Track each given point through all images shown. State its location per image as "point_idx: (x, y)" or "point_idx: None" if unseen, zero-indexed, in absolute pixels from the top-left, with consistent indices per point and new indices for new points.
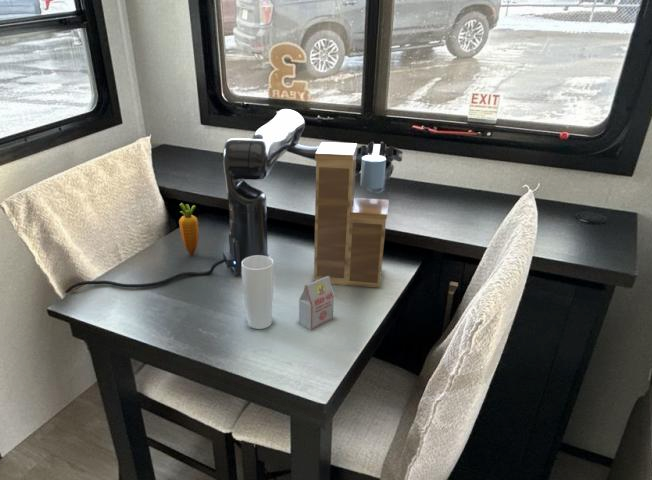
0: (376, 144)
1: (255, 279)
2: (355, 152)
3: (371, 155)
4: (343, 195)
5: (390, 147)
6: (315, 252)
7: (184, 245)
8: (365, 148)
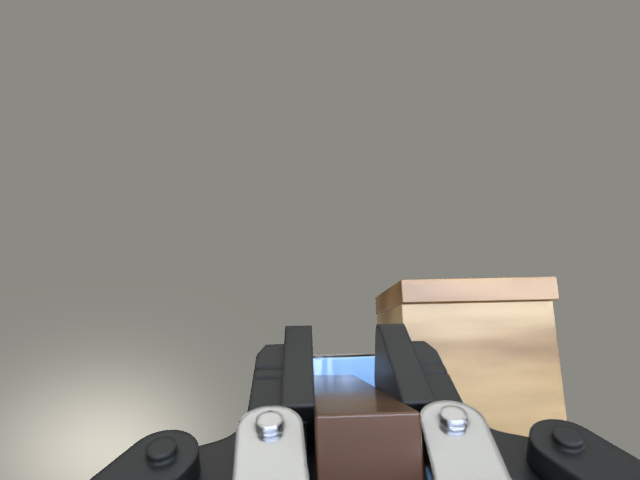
0: (379, 408)
1: None
2: (390, 306)
3: (346, 355)
4: None
5: (180, 444)
6: None
7: None
8: (513, 448)
